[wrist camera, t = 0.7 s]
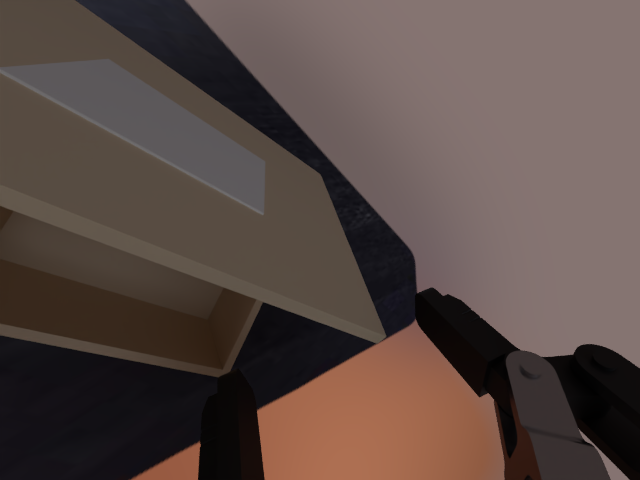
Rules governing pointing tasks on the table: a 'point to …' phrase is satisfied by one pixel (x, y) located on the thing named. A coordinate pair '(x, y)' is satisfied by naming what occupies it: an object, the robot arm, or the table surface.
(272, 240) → the carton flap
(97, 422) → the table surface
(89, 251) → the kraft carton
